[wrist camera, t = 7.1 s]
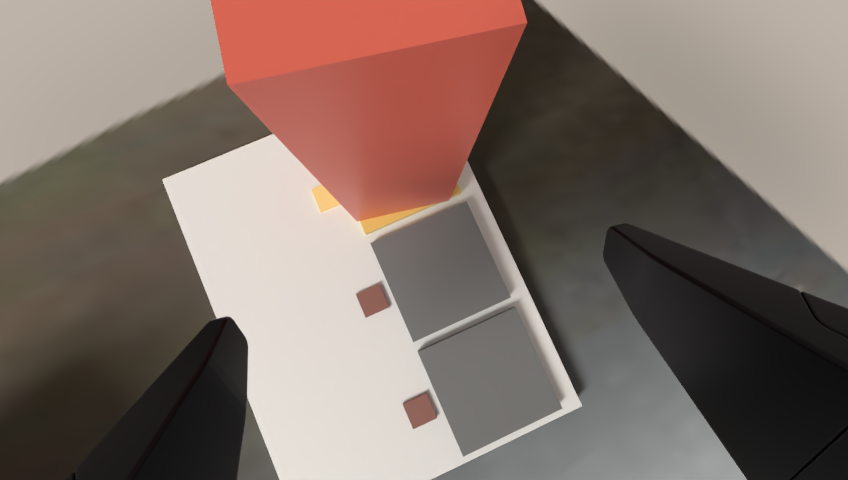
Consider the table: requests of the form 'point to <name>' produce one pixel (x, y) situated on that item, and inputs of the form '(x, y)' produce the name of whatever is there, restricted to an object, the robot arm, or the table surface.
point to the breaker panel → (368, 321)
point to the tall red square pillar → (372, 88)
